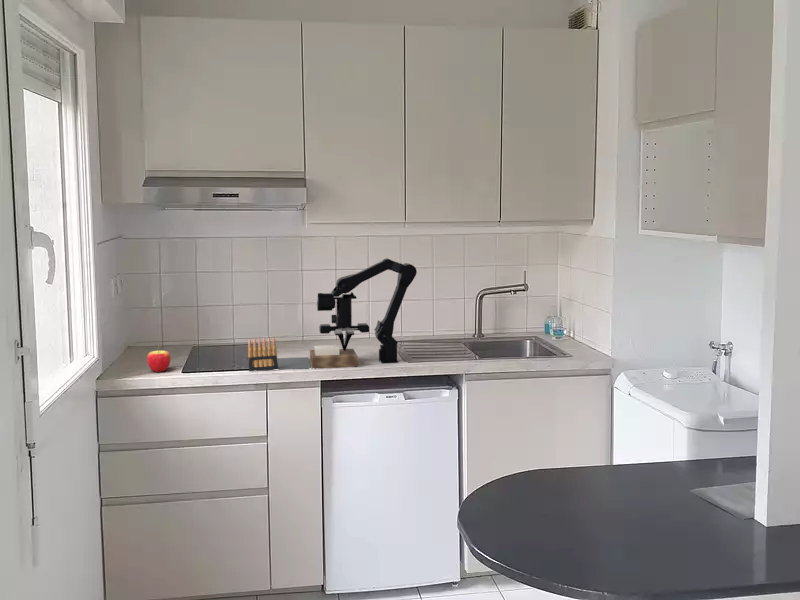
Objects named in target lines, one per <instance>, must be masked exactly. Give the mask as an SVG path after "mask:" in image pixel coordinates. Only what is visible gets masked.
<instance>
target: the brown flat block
mask: <svg viewBox="0 0 800 600" xmlns="http://www.w3.org/2000/svg"><path fill="white" fill-rule="evenodd" d="M310 361H311V362H310ZM309 362H310V365H311V369H313V368H318V369H339V368H358V367H359V356H358V354H357V353H356V351H355V349H354V348H346V351H343V348H339V355H321V356H316V355H315V352H314V349H310V350H309Z"/></svg>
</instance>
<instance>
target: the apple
mask: <svg viewBox="0 0 800 600" xmlns="http://www.w3.org/2000/svg"><path fill="white" fill-rule="evenodd" d="M146 361H147V365H148V367H149V369H150V370H151V371H152V372H155V373H161V372H165V371H167V369H168V368H169V367H170V364H171V353H170V352H169V351H167V350H162V349H161V350H160V343H158V347H157V350H153V351H150V352H148V354H147V357H146Z"/></svg>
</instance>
